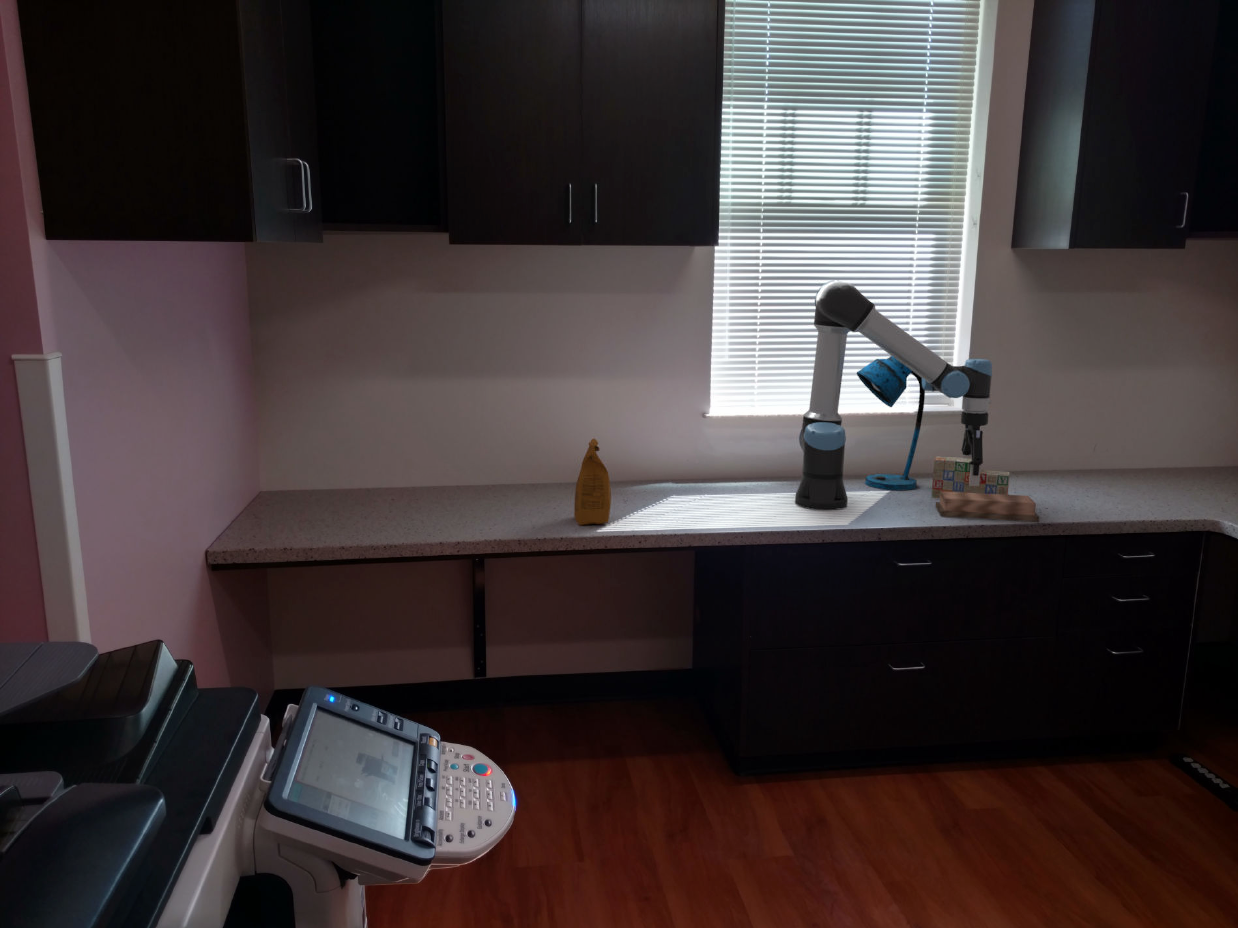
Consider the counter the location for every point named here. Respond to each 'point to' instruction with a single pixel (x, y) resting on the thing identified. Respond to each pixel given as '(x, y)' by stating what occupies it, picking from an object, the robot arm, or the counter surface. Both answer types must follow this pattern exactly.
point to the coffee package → (592, 489)
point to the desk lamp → (888, 386)
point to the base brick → (987, 506)
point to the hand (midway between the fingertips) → (969, 480)
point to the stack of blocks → (965, 478)
